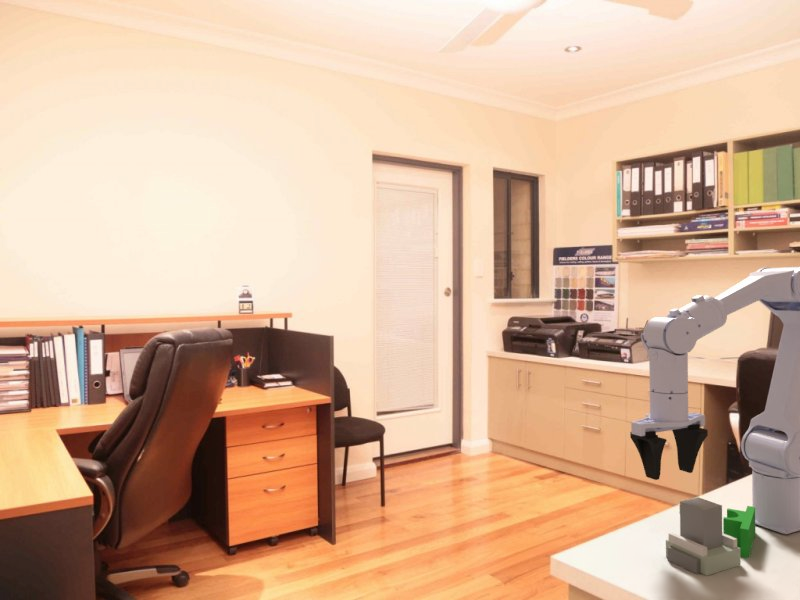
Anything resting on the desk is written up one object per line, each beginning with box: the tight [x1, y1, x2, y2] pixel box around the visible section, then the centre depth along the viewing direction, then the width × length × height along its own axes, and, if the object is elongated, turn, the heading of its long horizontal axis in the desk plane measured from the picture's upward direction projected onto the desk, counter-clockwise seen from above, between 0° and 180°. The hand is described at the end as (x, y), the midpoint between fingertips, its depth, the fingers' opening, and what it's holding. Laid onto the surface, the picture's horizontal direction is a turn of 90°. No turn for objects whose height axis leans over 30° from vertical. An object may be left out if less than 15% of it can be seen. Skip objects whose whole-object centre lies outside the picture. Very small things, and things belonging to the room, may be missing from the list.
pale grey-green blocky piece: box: [665, 532, 742, 577], centre depth 91 cm, size 8×7×4 cm
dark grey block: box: [678, 497, 723, 550], centre depth 92 cm, size 4×5×6 cm
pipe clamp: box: [722, 505, 756, 559], centre depth 97 cm, size 11×4×5 cm, turn 145°
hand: (669, 474), depth 99 cm, fingers open, 7 cm apart
